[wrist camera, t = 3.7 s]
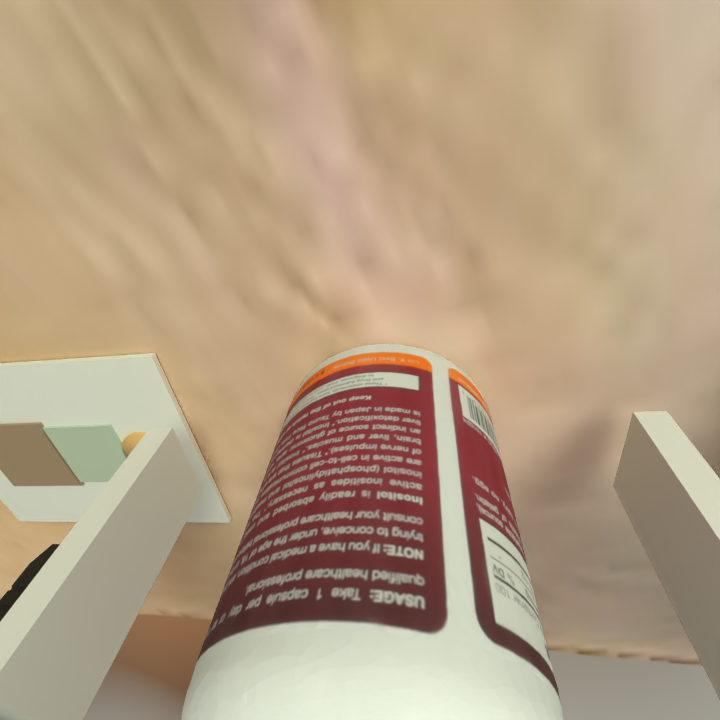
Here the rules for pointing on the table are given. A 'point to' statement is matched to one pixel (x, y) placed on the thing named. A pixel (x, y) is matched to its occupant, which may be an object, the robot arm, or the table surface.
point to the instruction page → (86, 433)
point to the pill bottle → (379, 561)
